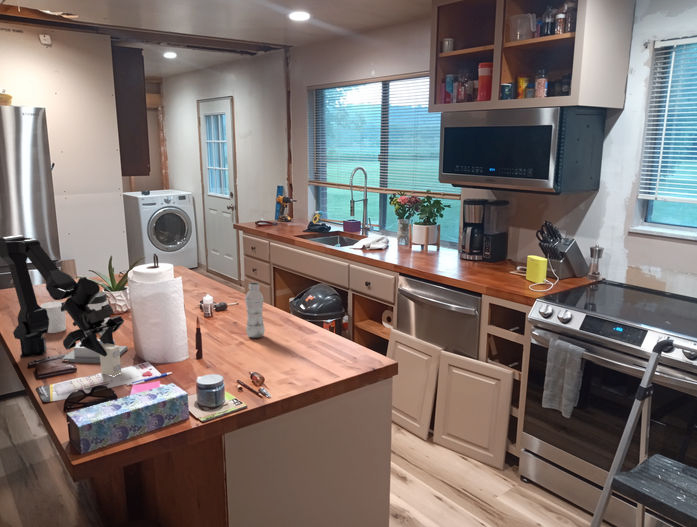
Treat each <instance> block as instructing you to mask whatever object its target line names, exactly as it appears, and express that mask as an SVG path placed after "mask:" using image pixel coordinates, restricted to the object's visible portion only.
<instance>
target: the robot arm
mask: <svg viewBox="0 0 697 527" xmlns="http://www.w3.org/2000/svg"><path fill="white" fill-rule="evenodd" d="M0 259H1V260H2V261H3V262H5V264H7V265H8V267H9V271H10V274H11V278H12V281H13V285H14V289H15V292H16V297H17V300H18V304H19V306H20V307H19V308H20V309H19V313H18V315H17V317H16V318H17V322H18V323H17V326H16V327H15V329H14V330H13V332H12V333H13V337H14V339H16V340H19V342H20V344H19V345H20V351H21V353H20V355H19V357H20V358H28V357H38V356H39V357H40V356H43V355H44V354H45V352H46V350H47V341H46V340H47V339H46V337H44V334H49V333H48V327H49V318H48V315H47V310H46V309H45V308H44V309H42V308H41V305H39V304H38V300H37V297H36V292H35V289H34V286H33V283H32V278H31V275H30V271H29V267H28V264H27V260H29V261H30V263H31V264H32V265H33V267H35V269H36V270H37V271H38V272H39V275H41V277H42V278H43V279H44V281H45V289H46V290H47V292H48V294H49V296H50V297H51V298H52V299H53V300H55V301H62V300H65V299H66V300H65V301H62V302H63V303H62V306H61V312H63V311H65V312H67V313H68V315H69V317H71V319H72V320H73V322H72V326H74V327H76V326H77V327H78V329H75V330H74V331H70V332H68V334H67V335H66V336H65V338H64V339H63V341H62V344H63V347H64V348H65V350H66V351H67V350H70V349H74V347H75V346H76V344H77V342H78V341H79V342H81V345H80V347H85V348H87V349H90V350H92V351H94V352H96V353H98V354H100V355H102V356H104V357H105V356H106V355H107V353H106V351H105V350H104V348H103V347H102V345H101V344H100V343H99V341H98V340H97V339H100V340H101V341H102V342H103V343H104V344H106V343H109V344H113V345H116V343H115V344H114V341H113V340H114V337H113V333H116V332H117V331H118V330H119V329H120V328H121V326H122V325H123V324H124V323H125V320H124V318H123V317H122V316H120V315H115V316H111V315H112V314H114V308H113V307H112V306H111V305H110V303H108V304H107V305H104V306H102V307H101V309H100V310H97V311H96V310H95V309H90V308H89V306H88V305H89V304H90V303H91V302H92V301H93V299H94V298H95V297H96V295H97V294H98V293H99V292H101V291H100V290H101V287H100V285H99V283H97V282H95V281H94V280H92V279H88V278H87V276H83V277H80V278H79V279H78V280H77V281H76V280H75V279H74V278H72V276H71V275H70V274H68V273H66V272H63V271H62V270H60V268H59V267H58V265H56V264H55V263H54V261H53V259H52V258H51V257H50V256H49V255H48V253H47V252H46V250H44V248H43V247H42V246H41V242H40V241H39V240H38V239H36V238H32V237H24V236H23V235H22V234H18V235H10V236H3V237H0ZM109 317H110V319H109V320H108V321H107V322H106V323H105V324H104V325H102V323H104V321H105V320H104V319H105V318H109ZM97 334H98V335H100V337H99V338H98V336H97Z"/></svg>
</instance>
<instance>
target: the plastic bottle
mask: <svg viewBox="0 0 697 527" xmlns="http://www.w3.org/2000/svg"><path fill="white" fill-rule="evenodd" d="M260 289H261V287H260V283H259V282H250V283H248V292H246V295H245V297H244V301H245V305H246V306H245V307H246V314H247V315H246V316H247V317H246V318H247V319H246V328H245V331H246V335H247V336H248V337H249V338H251V339H252V338H253V339H259V338H262V337H263V336H264V335H265V330H266V329H265V325H264V316H263V310H264V309H263V306H264V295H263V294H262V292H261V291H260Z"/></svg>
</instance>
